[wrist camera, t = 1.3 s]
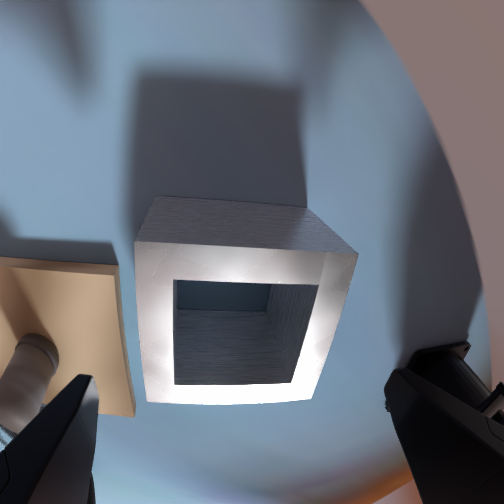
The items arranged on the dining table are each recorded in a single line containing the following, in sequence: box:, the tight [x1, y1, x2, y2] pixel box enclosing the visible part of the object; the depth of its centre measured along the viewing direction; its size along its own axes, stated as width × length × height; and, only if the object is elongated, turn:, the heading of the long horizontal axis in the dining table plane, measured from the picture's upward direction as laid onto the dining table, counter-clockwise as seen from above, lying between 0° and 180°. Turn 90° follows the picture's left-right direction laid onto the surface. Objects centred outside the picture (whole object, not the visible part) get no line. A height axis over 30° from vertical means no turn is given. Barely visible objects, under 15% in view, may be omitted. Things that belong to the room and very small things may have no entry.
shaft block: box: [0, 257, 136, 434], centre depth 12 cm, size 10×10×6 cm
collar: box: [134, 196, 358, 404], centre depth 12 cm, size 7×7×5 cm
